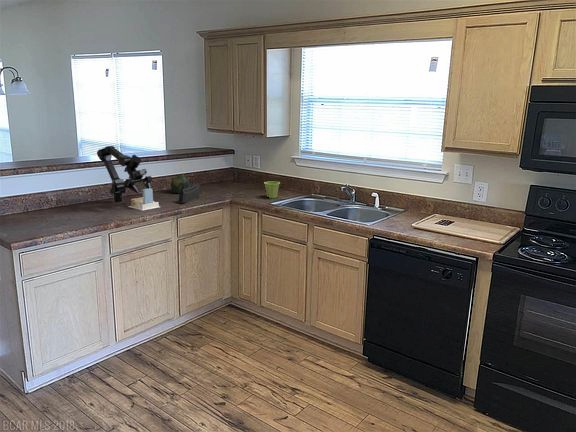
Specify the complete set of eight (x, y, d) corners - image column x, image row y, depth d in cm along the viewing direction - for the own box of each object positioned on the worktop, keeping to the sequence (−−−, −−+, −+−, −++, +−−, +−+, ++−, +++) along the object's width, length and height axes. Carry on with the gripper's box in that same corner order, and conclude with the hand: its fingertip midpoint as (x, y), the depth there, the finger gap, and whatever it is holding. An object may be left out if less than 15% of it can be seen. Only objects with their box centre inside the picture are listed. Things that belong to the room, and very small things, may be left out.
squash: (163, 185, 342) (174, 172, 336) (175, 183, 356) (186, 170, 350) (175, 199, 340) (186, 186, 334) (186, 196, 354) (197, 183, 348)
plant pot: (275, 195, 345) (276, 180, 343) (282, 198, 335) (282, 183, 332) (261, 196, 340) (261, 181, 338) (267, 199, 330) (267, 184, 327)
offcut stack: (131, 206, 291) (130, 199, 290) (143, 203, 299) (143, 197, 298) (137, 207, 287) (137, 200, 286) (150, 205, 295) (150, 198, 294)
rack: (127, 208, 291) (126, 201, 290) (145, 205, 302) (145, 198, 300) (142, 212, 281) (142, 205, 280) (161, 209, 292) (160, 202, 291)
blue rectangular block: (143, 208, 287) (142, 189, 284) (151, 206, 291) (150, 188, 289) (145, 208, 286) (144, 189, 283) (153, 207, 290) (152, 188, 287)
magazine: (180, 192, 302) (198, 173, 327) (176, 192, 303) (194, 173, 328) (184, 214, 311) (202, 194, 336) (180, 214, 311) (198, 194, 336)
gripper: (124, 166, 280) (136, 186, 276) (150, 163, 295) (161, 182, 291) (118, 177, 286) (129, 197, 283) (143, 174, 301) (154, 192, 297)
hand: (144, 191), depth 288 cm, fingers open, 9 cm apart
